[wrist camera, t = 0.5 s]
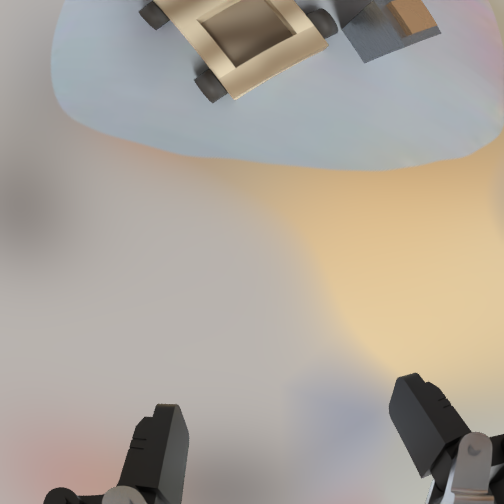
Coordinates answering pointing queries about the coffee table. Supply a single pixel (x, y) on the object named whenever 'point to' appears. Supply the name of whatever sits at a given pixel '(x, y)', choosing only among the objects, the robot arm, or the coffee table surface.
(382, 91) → the coffee table surface
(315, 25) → the chassis
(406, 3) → the block
